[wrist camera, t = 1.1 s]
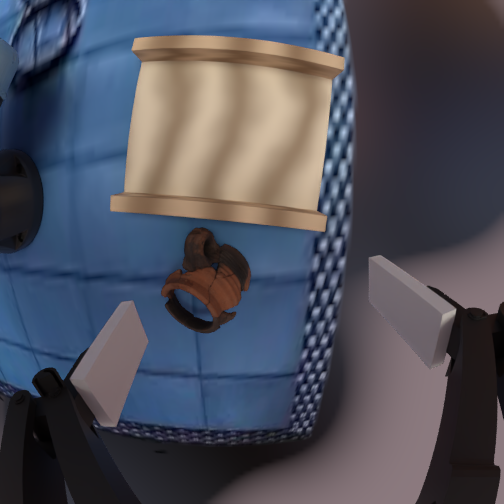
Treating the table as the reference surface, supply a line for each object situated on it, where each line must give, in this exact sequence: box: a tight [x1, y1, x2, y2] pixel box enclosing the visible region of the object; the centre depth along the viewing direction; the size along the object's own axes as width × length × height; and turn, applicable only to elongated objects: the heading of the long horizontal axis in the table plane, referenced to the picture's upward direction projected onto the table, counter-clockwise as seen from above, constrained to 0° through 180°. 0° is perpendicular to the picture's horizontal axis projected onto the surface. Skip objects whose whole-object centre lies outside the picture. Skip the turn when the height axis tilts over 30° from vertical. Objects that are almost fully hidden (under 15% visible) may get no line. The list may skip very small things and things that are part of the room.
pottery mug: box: [161, 228, 251, 333], centre depth 31 cm, size 12×10×8 cm
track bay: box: [110, 36, 344, 232], centre depth 27 cm, size 22×19×5 cm
